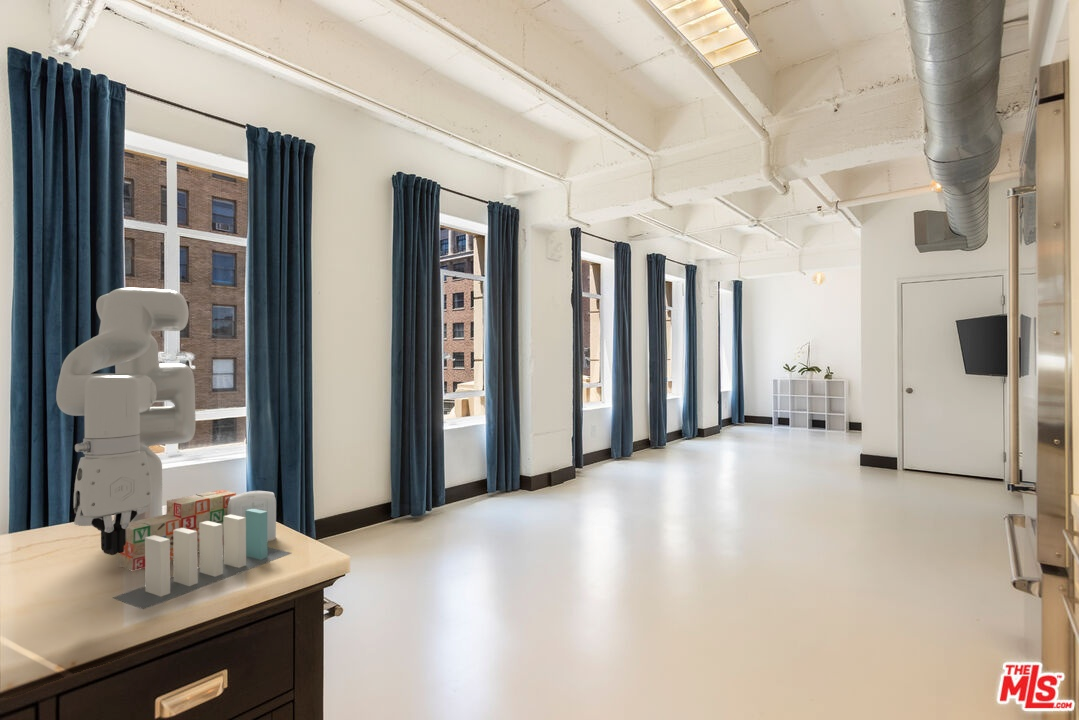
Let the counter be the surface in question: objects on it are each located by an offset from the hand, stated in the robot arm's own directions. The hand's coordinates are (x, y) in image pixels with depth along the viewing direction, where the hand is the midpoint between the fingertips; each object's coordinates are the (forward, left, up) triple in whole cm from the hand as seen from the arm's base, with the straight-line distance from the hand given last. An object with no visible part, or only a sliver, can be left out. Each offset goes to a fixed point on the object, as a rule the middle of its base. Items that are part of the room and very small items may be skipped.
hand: (113, 552), depth 94 cm
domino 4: (0, +22, -10) cm, 24 cm away
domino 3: (0, +17, -10) cm, 20 cm away
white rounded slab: (-10, +33, -11) cm, 36 cm away
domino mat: (0, +17, -10) cm, 20 cm away
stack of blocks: (-18, +22, -11) cm, 30 cm away
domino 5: (0, +27, -10) cm, 29 cm away
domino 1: (0, +7, -10) cm, 12 cm away
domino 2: (0, +12, -10) cm, 16 cm away
